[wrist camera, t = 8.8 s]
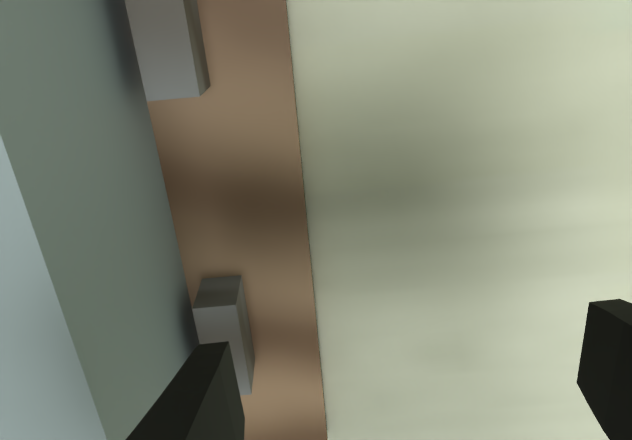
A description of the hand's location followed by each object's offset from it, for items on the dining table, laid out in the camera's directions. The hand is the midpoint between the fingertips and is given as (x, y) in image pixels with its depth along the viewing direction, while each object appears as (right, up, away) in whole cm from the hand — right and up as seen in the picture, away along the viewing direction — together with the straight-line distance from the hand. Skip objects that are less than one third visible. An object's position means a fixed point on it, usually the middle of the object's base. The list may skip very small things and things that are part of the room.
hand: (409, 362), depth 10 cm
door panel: (-8, +4, +7) cm, 12 cm away
